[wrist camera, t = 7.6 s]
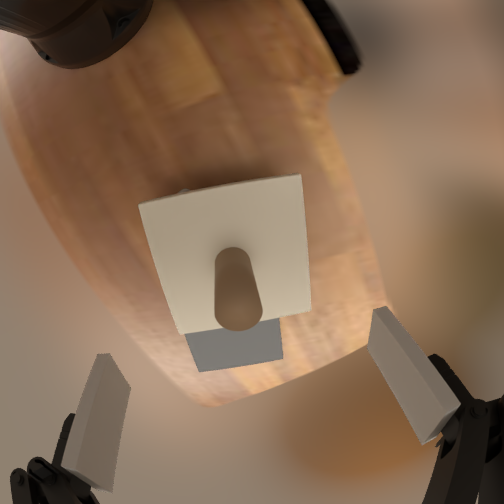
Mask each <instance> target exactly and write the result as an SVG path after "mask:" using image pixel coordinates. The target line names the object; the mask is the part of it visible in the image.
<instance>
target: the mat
mask: <svg viewBox="0 0 504 504" xmlns="http://www.w3.org/2000/svg"><path fill="white" fill-rule="evenodd" d="M185 337H186V340H187V342H188V345H189V348H190V350H191V353H192V356H193V358H194V361H195V363H196V366H197V368H198V371H199V372H204V371H212V370H220V369H227V368H234V367H240V366H246V365H252V364H258V363H264V362H269V361H274V360H279V359H283V351H282V341H281V332H280V322H279V318H275V319H269V320H264V321H259V322H258V323H257V324H256V325H255V326H254V327H252V328H250V329H248V330H244V331H231V330H228V329H225V328H220V329H213V330H207V331H200V332H194V333H187V334H185Z"/></svg>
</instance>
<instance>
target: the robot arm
mask: <svg viewBox="0 0 504 504" xmlns="http://www.w3.org/2000/svg"><path fill="white" fill-rule="evenodd" d="M152 2H153V0H0V29H2V30H5V31H8V32H11V33H15V34H18V35H21V36H24V37H26V38H27V39H28V40H29V41H30V43H31V44H32V46H33V47H34V48H35V50H36V51H37V52H38V54H39V55H40V56H41V58H42V59H44V60H45V61H46V62H48V63H50V64H53V65H56V66H59V67H62V68H68V69H75V68H82V67H86V66H89V65H92V64H95V63H97V62H99V61H101V60H103V59H105V58H107V57H108V56H110V55H112V54H113V53H115V52H116V51H117V50H119V49H120V48H121V47H122V46H124V45H125V44H126V43H127V42H128V41H129V40H130V39H131V38H132V37H133V36H134V35H135V34H136V33H137V31H138V30H139V29H140V28H141V26H142V25H143V23H144V22H145V20H146V18H147V16H148V14H149V12H150V9H151V6H152ZM367 349H368V351H369V353H370V355H371V356H372V358H373V360H374V361H375V363H376V365H377V366H378V368H379V369H380V371H381V373H382V375H383V376H384V378H385V380H386V381H387V383H388V385H389V387H390V388H391V390H392V392H393V394H394V395H395V397H396V399H397V401H398V402H399V404H400V406H401V408H402V410H403V411H404V413H405V415H406V417H407V419H408V420H409V422H410V424H411V426H412V428H413V430H414V431H415V433H416V435H417V437H418V439H419V441H420V443H421V445H423V444H425V443H427V442H428V441H431V440H432V439H434V438H436V437H437V435H438V434H439V433H440V432H442V434H443V437H442V438H441V439H440V440H439V441H438V442H437V444H436V446H435V447H438V446H439V445H440V449H439V452H438V456H437V460H436V463H435V467H434V470H433V474H432V477H431V480H430V483H429V486H428V489H427V492H426V494H425V498H424V500H423V502H422V504H475V503H476V499H477V495H478V492H479V498H478V504H504V395H503V396H502V397H501V398H499V399H495V400H492V401H489V402H485V401H484V400H480V399H474V398H473V397H472V396H471V394H470V393H469V392H468V390H467V389H466V388H465V386H464V385H463V384H462V382H461V381H460V379H459V378H458V377H457V376H456V375H455V373H454V372H453V370H452V369H450V366H449V365H448V364H447V363H446V361H445V360H444V359H443V358H441V357H440V356H438V355H437V354H433V355H430V356H428V357H427V356H426V355H425V354H424V352H423V351H422V350H421V348H420V347H419V346H418V344H417V343H416V342H415V341H414V340H413V338H412V337H411V336H410V334H409V333H408V332H407V331H406V329H405V328H404V327H403V326H402V324H401V323H400V322H399V321H398V319H397V318H396V317H395V316H394V315H393V313H392V312H391V311H390V310H389V309H388V307H387V306H384V307H381V308H377V309H373V315H372V322H371V328H370V334H369V340H368V346H367ZM130 391H131V387H130V385H129V384H128V382H127V381H126V379H125V378H124V376H123V374H122V373H121V371H120V370H119V368H118V366H117V365H116V363H115V361H114V360H113V358H112V356H111V355H110V354H97V357H96V359H95V362H94V365H93V367H92V370H91V372H90V375H89V377H88V380H87V383H86V385H85V388H84V391H83V394H82V397H81V399H80V403H79V405H78V408H77V411H76V414H73V413H70V414H69V416H68V417H67V418H66V420H65V421H64V424H63V427H62V432H61V433H60V439H59V440H58V443H57V447H56V450H55V454H54V458H53V461H52V464H50V463H49V462H47V461H46V460H45V459H43V458H42V457H35V458H33V459H31V460H30V462H29V463H28V466H27V472H26V471H25V470H23V469H21V468H17V469H15V470H13V472H12V473H11V476H10V484H11V492H12V499H13V504H100V503H99V502H98V500H97V499H96V497H95V495H94V494H93V493H92V492H91V491H90V490H91V487H93V488H95V489H96V490H98V491H103V492H108V493H112V492H113V484H114V476H115V469H116V463H117V456H118V450H119V444H120V439H121V433H122V428H123V422H124V418H125V413H126V408H127V404H128V399H129V395H130Z"/></svg>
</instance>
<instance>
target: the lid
mask: <svg viewBox="0 0 504 504" xmlns="http://www.w3.org/2000/svg"><path fill="white" fill-rule="evenodd" d="M138 207H139V211H140V215H141V219H142V222H143V226H144V230H145V233H146V237H147V240H148V244H149V247H150V250H151V254H152V257H153V260H154V263H155V267H156V270H157V273H158V276H159V279H160V282H161V285H162V288H163V291H164V294H165V297H166V300H167V302H168V305H169V308H170V311H171V314H172V316H173V319H174V322H175V324H176V327H177V330H178V332H179V334H187V333H194V332H200V331H207V330H213V329H220V328H225V329H228V330H231V331H244V330H248V329H250V328H252V327H254V326H255V325H256V324H257V323H258V322H259V321H264V320H269V319H275V318H279V317H284V316H289V315H294V314H298V313H303V312H308V311H311V294H310V275H309V258H308V244H307V231H306V219H305V208H304V197H303V187H302V178H301V174H299V173H292V174H285V175H278V176H271V177H264V178H258V179H252V180H245V181H240V182H234V183H228V184H223V185H217V186H212V187H207V188H202V189H197V190H192V191H187V192H182V193H177V194H173V195H168V196H164V197H159V198H155V199H151V200H147V201H142V202H140V203H139V204H138Z"/></svg>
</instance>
